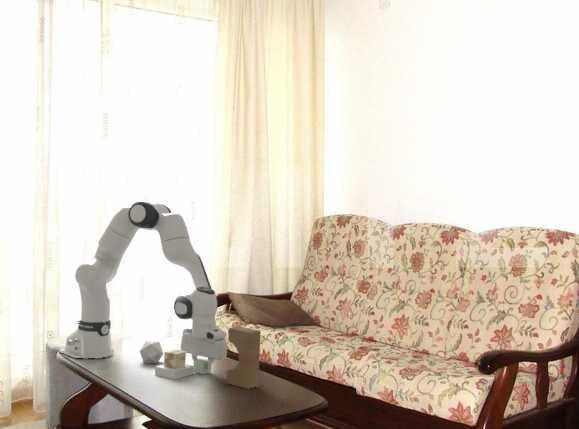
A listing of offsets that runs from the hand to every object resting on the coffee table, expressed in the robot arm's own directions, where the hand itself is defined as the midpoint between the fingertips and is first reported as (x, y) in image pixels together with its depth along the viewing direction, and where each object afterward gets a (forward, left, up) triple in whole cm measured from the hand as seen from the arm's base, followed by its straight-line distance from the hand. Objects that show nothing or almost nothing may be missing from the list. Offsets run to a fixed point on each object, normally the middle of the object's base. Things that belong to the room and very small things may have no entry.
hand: (202, 367), depth 274 cm
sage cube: (0, 0, -2) cm, 2 cm away
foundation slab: (-6, -9, -2) cm, 11 cm away
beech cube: (-6, -9, +1) cm, 11 cm away
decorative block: (+22, -3, -2) cm, 22 cm away
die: (-25, -2, -2) cm, 25 cm away
